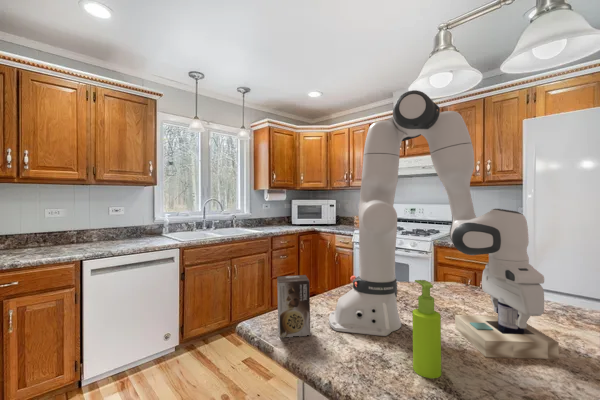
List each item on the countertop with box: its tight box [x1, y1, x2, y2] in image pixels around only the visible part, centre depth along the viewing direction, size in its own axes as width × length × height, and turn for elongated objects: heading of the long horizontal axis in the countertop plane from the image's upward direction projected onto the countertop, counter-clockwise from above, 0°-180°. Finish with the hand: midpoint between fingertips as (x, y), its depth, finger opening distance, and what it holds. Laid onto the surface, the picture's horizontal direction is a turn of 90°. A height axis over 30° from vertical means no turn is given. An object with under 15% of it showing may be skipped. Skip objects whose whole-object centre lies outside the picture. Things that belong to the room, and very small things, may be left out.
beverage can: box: [497, 297, 524, 334], centre depth 78 cm, size 6×6×12 cm
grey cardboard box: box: [276, 274, 312, 338], centre depth 85 cm, size 9×6×16 cm
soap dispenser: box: [412, 279, 442, 379], centre depth 66 cm, size 6×7×20 cm
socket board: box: [454, 314, 560, 360], centre depth 78 cm, size 17×16×4 cm
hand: (508, 319), depth 78 cm, fingers open, 8 cm apart
